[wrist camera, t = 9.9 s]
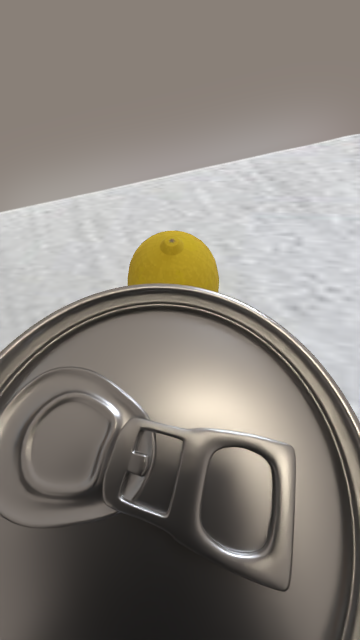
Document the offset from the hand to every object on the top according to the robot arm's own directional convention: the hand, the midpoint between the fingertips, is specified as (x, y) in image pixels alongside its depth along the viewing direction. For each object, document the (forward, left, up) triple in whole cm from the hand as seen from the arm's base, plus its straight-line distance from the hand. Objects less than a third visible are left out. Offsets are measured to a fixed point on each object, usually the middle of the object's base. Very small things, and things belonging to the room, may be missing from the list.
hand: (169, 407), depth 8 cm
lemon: (+3, +7, -8) cm, 11 cm away
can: (0, -1, -7) cm, 7 cm away
